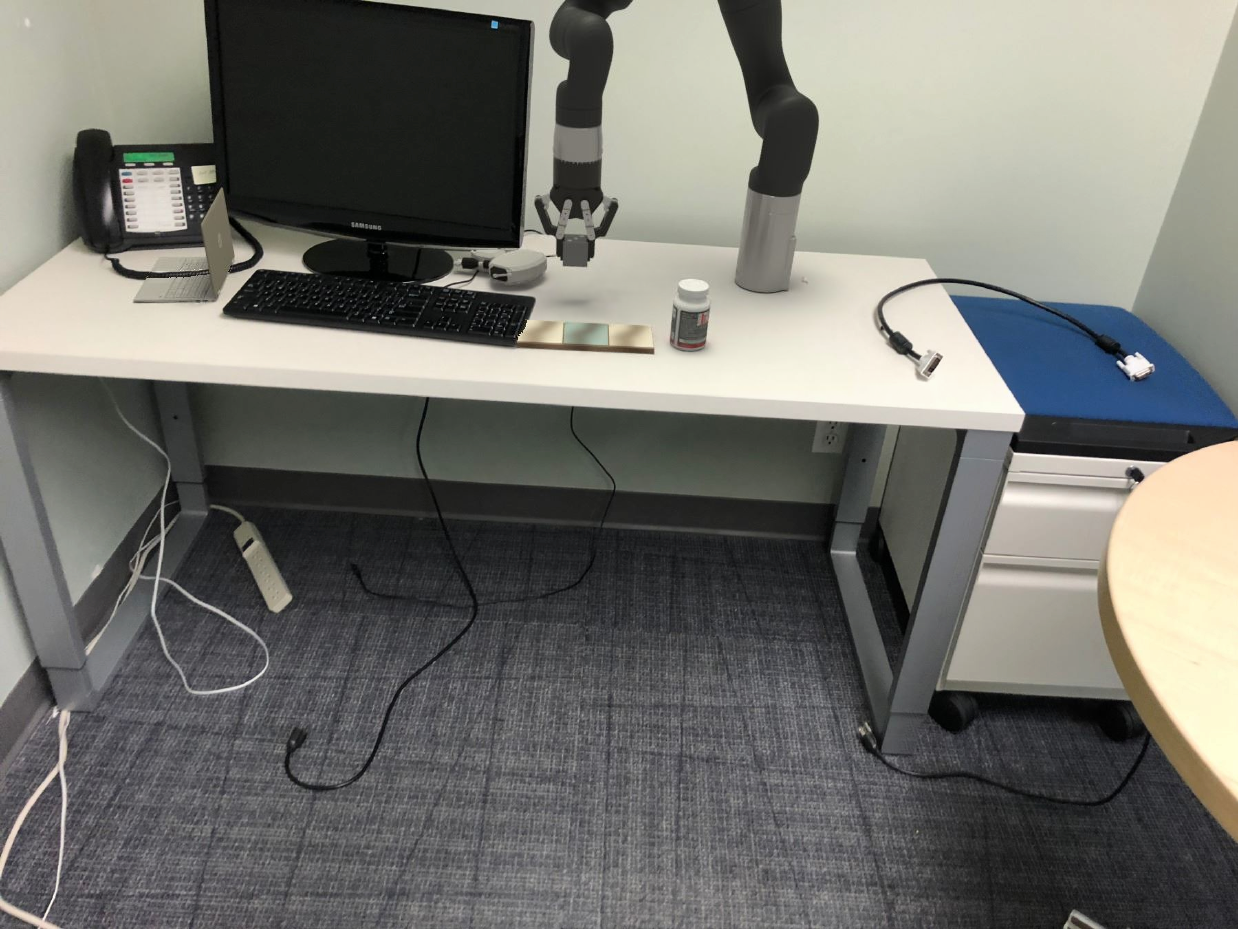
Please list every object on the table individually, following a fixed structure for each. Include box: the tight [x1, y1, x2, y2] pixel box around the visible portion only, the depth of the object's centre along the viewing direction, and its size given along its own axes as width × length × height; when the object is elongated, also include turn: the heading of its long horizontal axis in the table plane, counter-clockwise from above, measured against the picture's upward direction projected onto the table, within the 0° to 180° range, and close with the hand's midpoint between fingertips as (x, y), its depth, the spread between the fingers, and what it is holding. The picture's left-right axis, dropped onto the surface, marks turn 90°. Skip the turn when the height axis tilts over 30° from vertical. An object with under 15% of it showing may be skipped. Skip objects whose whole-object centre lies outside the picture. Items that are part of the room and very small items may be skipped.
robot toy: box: [453, 248, 557, 287], centre depth 164 cm, size 12×4×15 cm
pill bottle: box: [669, 278, 711, 352], centre depth 144 cm, size 6×6×10 cm
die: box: [562, 233, 589, 268], centre depth 153 cm, size 4×4×4 cm
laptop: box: [132, 187, 236, 304], centre depth 152 cm, size 18×12×13 cm
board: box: [516, 319, 655, 355], centre depth 146 cm, size 21×8×1 cm, turn 92°
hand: (574, 258), depth 153 cm, fingers closed on die, 3 cm apart
